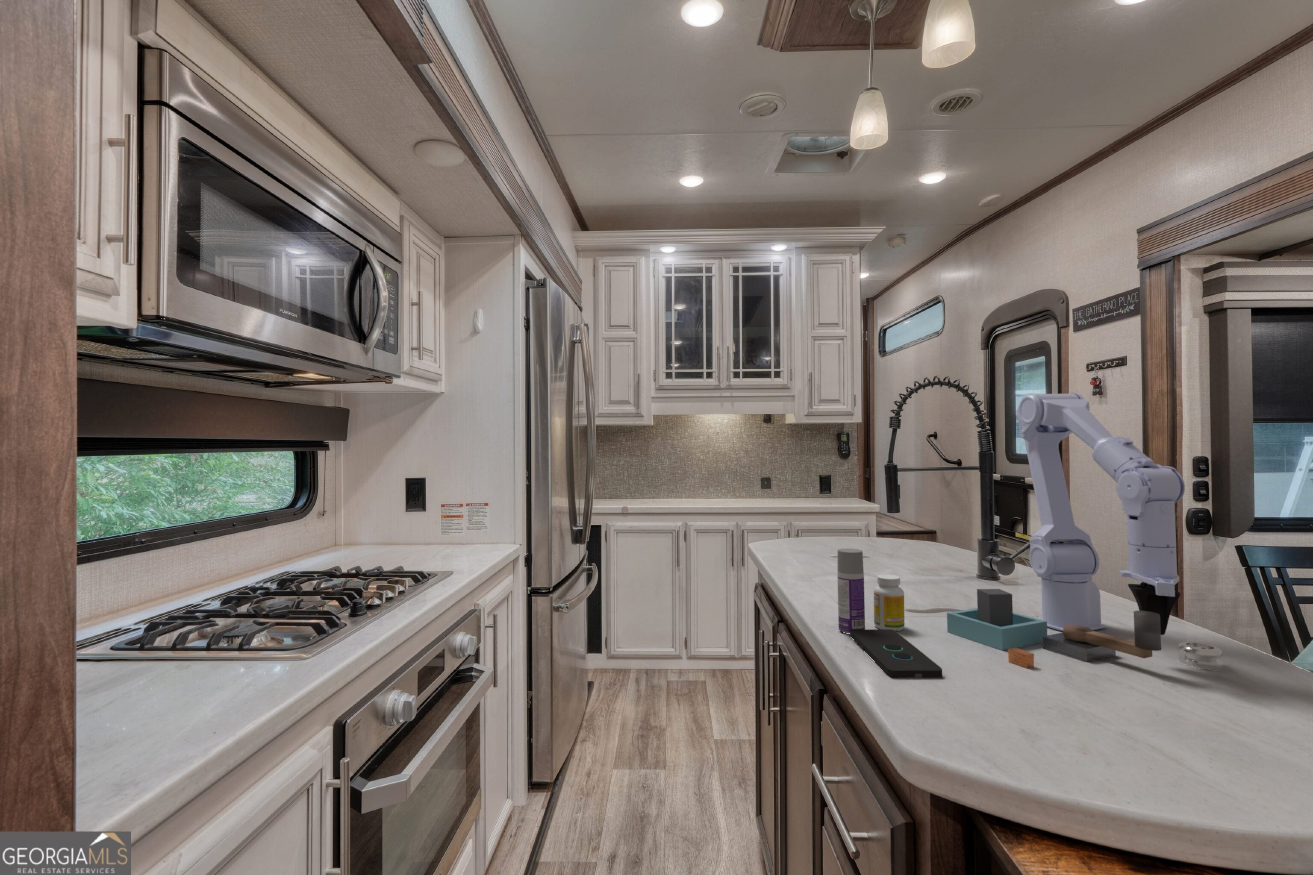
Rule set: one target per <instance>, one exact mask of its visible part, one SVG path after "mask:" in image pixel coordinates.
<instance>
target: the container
mask: <svg viewBox="0 0 1313 875" xmlns="http://www.w3.org/2000/svg"><path fill="white" fill-rule="evenodd" d="M864 574H865V573H864V555H863V550H862V549H858V548H839V549H837V606H838V610H837V611H838V612H837V613H838V631H839V630H840V631H842V632H845V633H850V634H851V631H850V630H866V618H865V617H866V614H865V613H866V612H865V610H866V608H865V607H866V606H865V575H864ZM840 631H839V632H840Z"/></svg>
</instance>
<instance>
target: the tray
mask: <svg viewBox="0 0 1313 875" xmlns="http://www.w3.org/2000/svg"><path fill="white" fill-rule="evenodd" d="M946 620H947V621H946V622H947V623H946V624H947V625H946V627H947V628H946V629H947V631H946V632H947V633H949V634H953V635H955V636H958V637H961V638H965V639H967V640H971V641H973V642H976V643H979V644H982V645H984V646H988V647H991V648H993V649H997V650H1000V651H1008V649H1011V648H1018V649H1019V648H1023V647H1027V646H1032V645H1037V644H1043V636H1047V635H1048V627H1047V621H1044V620H1040V618H1036V617H1032V616H1028V615H1025V614H1020V613H1017V612H1014V611H1013V625H1009V626H1003V627H999V626H996V625H992V624H989V623H986V622H982V621H979V620H978V607H976V608H969V609H963V610H955V611H950V612H949V611H948V612H946Z"/></svg>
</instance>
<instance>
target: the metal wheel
mask: <svg viewBox="0 0 1313 875" xmlns="http://www.w3.org/2000/svg"><path fill="white" fill-rule="evenodd" d="M1177 648H1178V651H1179V652H1181V653H1180V654H1178V662H1179V661H1180V662H1181V663H1183V664H1186V665H1188V666H1187V667H1189V666H1193V667H1196V668H1200V669H1199V670H1202V669H1208V670H1207V671H1209V670H1221V671H1223V670H1224V662H1223V661H1222V660H1220V659H1221V658H1223V657H1224V653H1223V651H1222V649H1221V648H1219V647H1218V646H1215V645H1212V644H1208V643H1203V642H1196V641H1183V642H1180V643H1179V644H1178V647H1177ZM1180 662H1179V663H1180ZM1181 663H1180V664H1181ZM1183 664H1182V665H1183ZM1186 665H1185V666H1186ZM1196 668H1195V669H1196ZM1222 669H1223V670H1222Z"/></svg>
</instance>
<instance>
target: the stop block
mask: <svg viewBox="0 0 1313 875" xmlns="http://www.w3.org/2000/svg"><path fill="white" fill-rule="evenodd" d="M976 595H977V596H976V598H977V599H976V600H977V603H976V604H977V608H978V620H979V621H982V622H986V623H989V624H992V625H996V626H999V627H1003V626H1009V625H1013V612H1014V611H1013V610H1014V609H1013V593H1010V592H1008V591H1005V590H1003V589H1001V588H977V589H976Z"/></svg>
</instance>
